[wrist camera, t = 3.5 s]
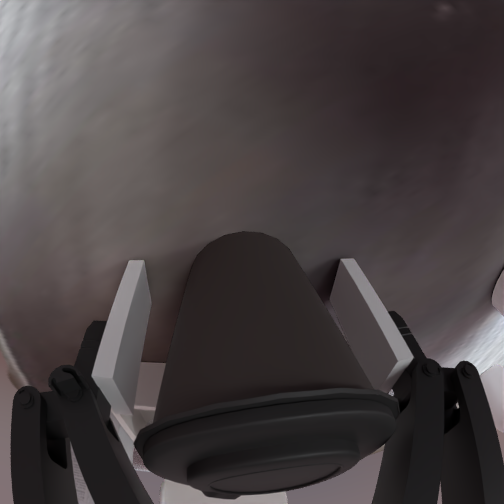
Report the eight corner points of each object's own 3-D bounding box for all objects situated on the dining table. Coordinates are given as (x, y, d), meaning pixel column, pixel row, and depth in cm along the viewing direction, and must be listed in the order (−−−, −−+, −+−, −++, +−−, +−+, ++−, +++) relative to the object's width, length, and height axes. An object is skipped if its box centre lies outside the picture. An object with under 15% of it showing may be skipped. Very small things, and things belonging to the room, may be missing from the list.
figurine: (498, 371, 32) (527, 423, 22) (464, 395, 33) (492, 452, 23) (508, 351, 28) (543, 409, 18) (472, 378, 29) (505, 442, 19)
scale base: (114, 360, 17) (91, 520, 8) (319, 356, 19) (365, 511, 10) (165, 454, 28) (165, 535, 19) (278, 451, 30) (292, 530, 21)
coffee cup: (154, 320, 16) (135, 498, 7) (178, 183, 12) (119, 432, 3) (288, 340, 18) (326, 495, 9) (349, 227, 14) (467, 408, 5)
